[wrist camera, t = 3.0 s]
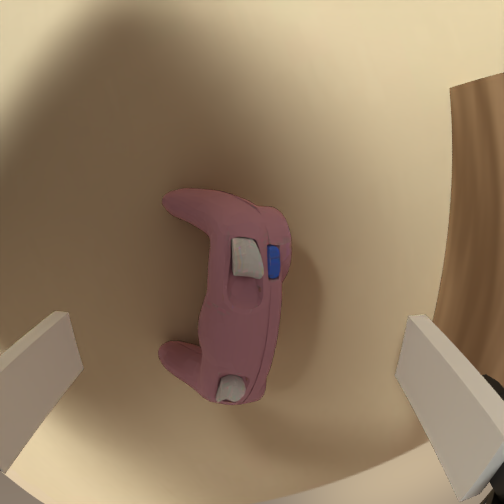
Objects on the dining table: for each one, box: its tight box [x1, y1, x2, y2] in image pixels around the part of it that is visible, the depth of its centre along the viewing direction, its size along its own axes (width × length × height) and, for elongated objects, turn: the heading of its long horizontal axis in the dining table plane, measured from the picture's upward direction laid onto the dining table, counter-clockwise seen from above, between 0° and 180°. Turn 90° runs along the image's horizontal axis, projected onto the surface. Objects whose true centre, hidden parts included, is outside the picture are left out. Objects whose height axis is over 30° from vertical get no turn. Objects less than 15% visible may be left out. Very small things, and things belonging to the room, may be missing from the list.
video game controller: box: [158, 188, 292, 405], centre depth 14 cm, size 10×5×7 cm, turn 173°
